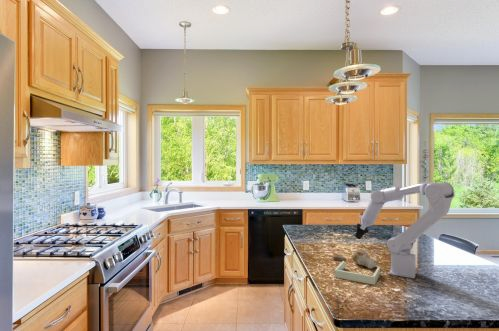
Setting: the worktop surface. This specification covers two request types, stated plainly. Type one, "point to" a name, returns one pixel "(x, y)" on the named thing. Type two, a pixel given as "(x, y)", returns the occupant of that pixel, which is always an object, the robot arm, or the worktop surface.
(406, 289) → the worktop surface
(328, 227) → the worktop surface
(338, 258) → the walnut tile
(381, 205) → the robot arm
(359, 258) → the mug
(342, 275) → the beige u-shaped block
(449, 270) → the worktop surface
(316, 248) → the worktop surface
